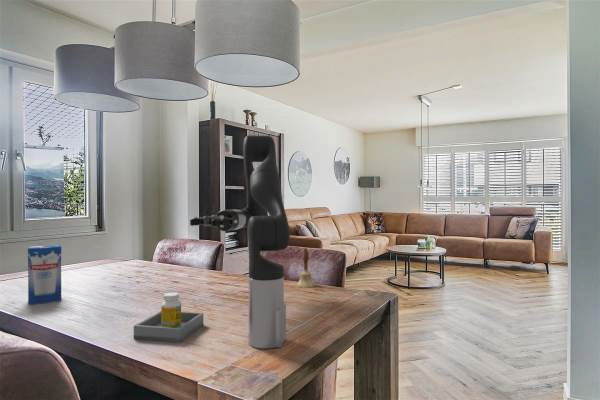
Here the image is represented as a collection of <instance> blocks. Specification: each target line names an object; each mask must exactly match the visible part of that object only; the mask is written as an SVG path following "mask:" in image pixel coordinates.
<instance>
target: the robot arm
mask: <svg viewBox="0 0 600 400" xmlns="http://www.w3.org/2000/svg"><path fill="white" fill-rule="evenodd" d="M242 147H243V148H242V149H243V150H242V152H243V153H242V154H243V163H244V164H243V166H244V175H245V182H246V205H247V206H245V207H243V208H242V209H236V208H235V209H222V210H220V211H218V212H217V213H216V214H214V215H205V216H200V217H199V216H198V217H197V216H196V217H193V218H190V220H189V225H190V226H192V227H193V226H194V227H195V226H199V227H200V226H204V227H213V228H217V229H218V230H219V231H222V232H229V231H236V230H239V229H245V228H247V242H248V243H247V244H248V245H247V247H248V343H249V345H250V346H251V347H253V348H256V349H273V348H281V347H282V346H283V344H284V343H285V341H286V339H287V303H285V269H284V266H283V265H282V264H281V263H278V262H274V261H271V260H270V259H267V258H265V257H264V256H263V255H262V254H261V253H262V252H274V251H275V252H276V251H284V250H286V249H287V248H288V247H289V244H290V243H291V242H290V241H291V234H290V233H291V232H290V226H289V221H288V217H287V213H286V209H285V205H284V201H283V195H282V186H281V180H280V179H281V178H280V176H279V175H280V174H279V171H278V165H277V153H276V151H277V150H276V142H275V140H274V137H272V136H270V135H255V134H254V135H252V134H251V135H246V136H245V137H244V139H243V146H242ZM253 163H260V164H258V165H257V167H256V168H255V167H254V164H253Z"/></svg>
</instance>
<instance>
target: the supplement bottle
mask: <svg viewBox="0 0 600 400" xmlns="http://www.w3.org/2000/svg"><path fill="white" fill-rule="evenodd" d="M179 298H180V295H179V292H176V291H175V292H167V293H164V294H163V300H164V301H163V302H162V303H161V309H160V311H161V327H171V328H179V327H181V312H182V302H181V300H179Z"/></svg>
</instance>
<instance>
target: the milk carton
mask: <svg viewBox="0 0 600 400" xmlns="http://www.w3.org/2000/svg"><path fill="white" fill-rule="evenodd" d="M27 276H28V277H27V281H28V282H27V287H28V290H27V296H28V297H27V299H28V300H27V305H28V306H33V305H39V304H47V303H55V302H62V245H61V244H55V245H54V244H53V245H40V246H39V245H35V246H29V247H28V248H27Z"/></svg>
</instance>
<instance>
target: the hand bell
mask: <svg viewBox="0 0 600 400" xmlns="http://www.w3.org/2000/svg"><path fill="white" fill-rule="evenodd" d="M309 258H310V257H309V251H308V249H307V248H304V249H303V251H302V261H303V271H302V272H300V277H299V281H298V282H297V283H296V286H297V287H298V286H299V288H302V287H309V288H314V287H315V286H316V283H315V282H314V281H313V278H312V273H311V272H310V271H308V270H309V269H308V262H309Z"/></svg>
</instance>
